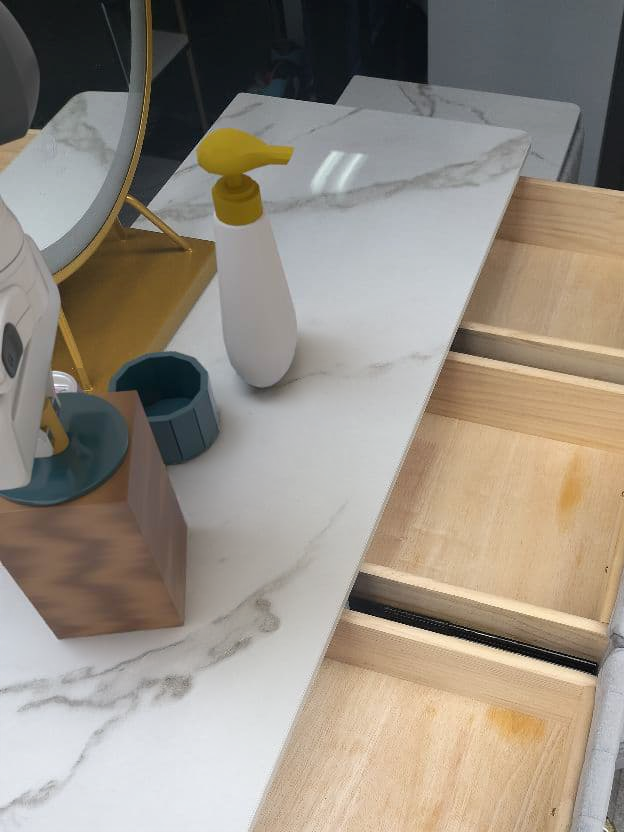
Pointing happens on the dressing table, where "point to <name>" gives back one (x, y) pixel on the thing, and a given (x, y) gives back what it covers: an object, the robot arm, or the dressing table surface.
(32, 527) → the stand
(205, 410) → the pot
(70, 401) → the lid
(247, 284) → the soap bottle
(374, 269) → the dressing table surface
